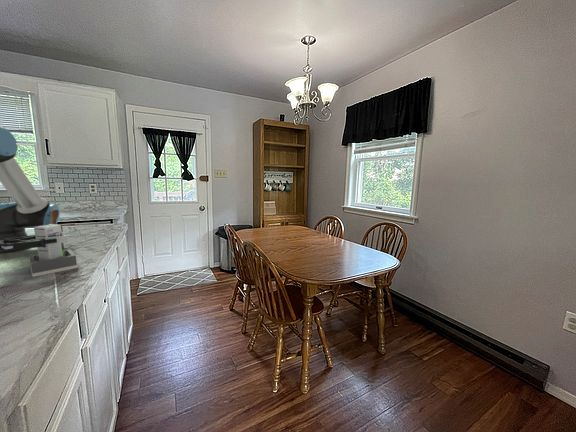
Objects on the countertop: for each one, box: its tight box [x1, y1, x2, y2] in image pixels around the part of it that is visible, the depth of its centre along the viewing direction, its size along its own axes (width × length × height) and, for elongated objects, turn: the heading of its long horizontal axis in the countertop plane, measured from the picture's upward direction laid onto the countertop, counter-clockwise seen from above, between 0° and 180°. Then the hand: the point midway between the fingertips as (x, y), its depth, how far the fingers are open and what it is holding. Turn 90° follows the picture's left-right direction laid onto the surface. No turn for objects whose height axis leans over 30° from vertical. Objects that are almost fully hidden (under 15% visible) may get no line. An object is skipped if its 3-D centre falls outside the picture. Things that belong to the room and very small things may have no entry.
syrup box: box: [33, 223, 65, 261], centre depth 101 cm, size 6×6×14 cm
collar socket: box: [28, 248, 79, 278], centre depth 103 cm, size 13×13×5 cm
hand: (65, 236), depth 105 cm, fingers closed on syrup box, 7 cm apart
